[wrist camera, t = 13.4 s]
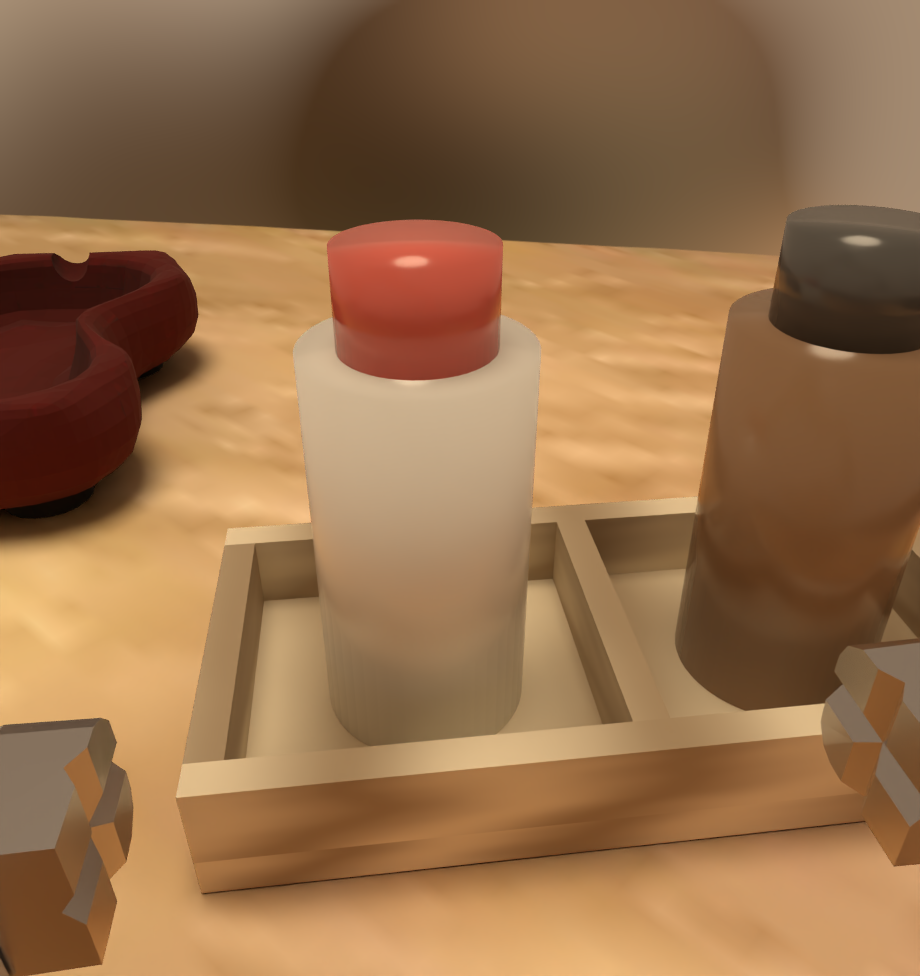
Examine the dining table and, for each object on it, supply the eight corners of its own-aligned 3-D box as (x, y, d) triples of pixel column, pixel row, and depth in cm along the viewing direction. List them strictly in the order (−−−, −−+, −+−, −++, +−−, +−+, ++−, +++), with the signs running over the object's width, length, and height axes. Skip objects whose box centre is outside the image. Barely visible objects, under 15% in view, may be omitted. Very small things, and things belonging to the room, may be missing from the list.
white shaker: (327, 766, 19) (272, 292, 13) (330, 625, 23) (289, 212, 17) (538, 748, 20) (573, 281, 14) (505, 612, 24) (521, 206, 18)
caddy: (201, 893, 18) (175, 797, 16) (242, 612, 25) (227, 528, 24) (1049, 800, 20) (1101, 707, 18) (852, 564, 27) (876, 484, 26)
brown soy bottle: (714, 729, 20) (814, 268, 14) (651, 600, 24) (708, 200, 18) (906, 710, 21) (1077, 256, 15) (812, 587, 25) (919, 192, 19)
